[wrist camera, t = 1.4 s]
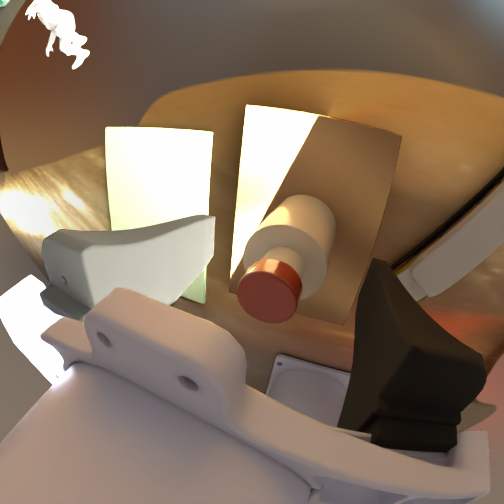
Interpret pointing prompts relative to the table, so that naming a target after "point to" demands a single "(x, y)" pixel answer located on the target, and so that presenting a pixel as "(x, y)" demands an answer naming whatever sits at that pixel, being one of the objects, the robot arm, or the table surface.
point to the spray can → (4, 3)
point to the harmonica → (456, 244)
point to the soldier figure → (59, 29)
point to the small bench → (316, 191)
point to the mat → (158, 180)
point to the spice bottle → (286, 258)
